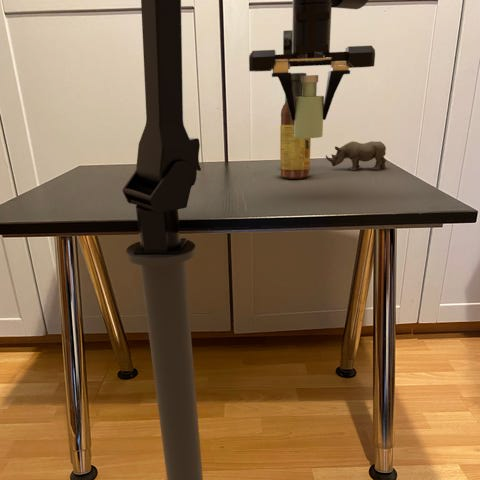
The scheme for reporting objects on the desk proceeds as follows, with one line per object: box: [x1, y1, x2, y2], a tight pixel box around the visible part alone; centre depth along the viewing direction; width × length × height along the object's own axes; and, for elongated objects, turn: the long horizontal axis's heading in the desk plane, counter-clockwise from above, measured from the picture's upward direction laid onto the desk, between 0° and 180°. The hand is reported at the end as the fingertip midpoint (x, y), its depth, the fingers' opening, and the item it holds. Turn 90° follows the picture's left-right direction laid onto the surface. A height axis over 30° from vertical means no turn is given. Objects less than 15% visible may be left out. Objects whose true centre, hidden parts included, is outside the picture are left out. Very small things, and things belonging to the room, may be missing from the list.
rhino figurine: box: [325, 140, 387, 171], centre depth 108 cm, size 4×14×6 cm, turn 84°
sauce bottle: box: [279, 72, 312, 180], centre depth 98 cm, size 7×6×20 cm
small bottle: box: [294, 74, 325, 139], centre depth 77 cm, size 5×5×9 cm
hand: (308, 120), depth 78 cm, fingers closed on small bottle, 4 cm apart
